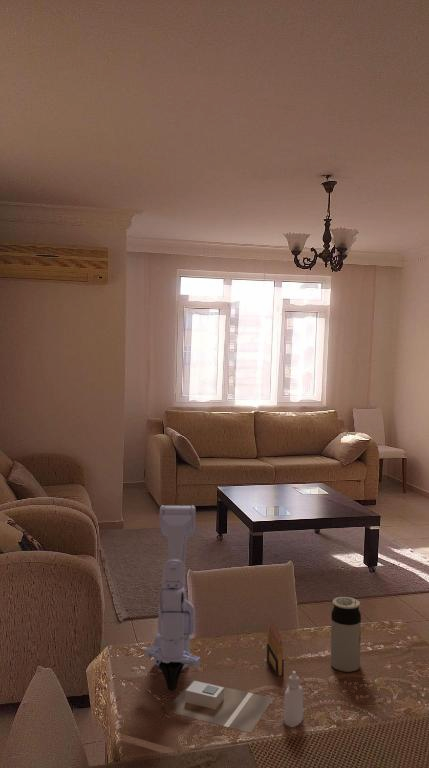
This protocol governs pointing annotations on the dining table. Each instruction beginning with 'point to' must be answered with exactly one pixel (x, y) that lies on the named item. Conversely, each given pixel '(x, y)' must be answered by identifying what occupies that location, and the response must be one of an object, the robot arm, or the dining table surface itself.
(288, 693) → the eye dropper bottle
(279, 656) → the ammunition clip
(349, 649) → the travel mug
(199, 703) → the block
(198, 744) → the dining table surface
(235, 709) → the subfloor panel
